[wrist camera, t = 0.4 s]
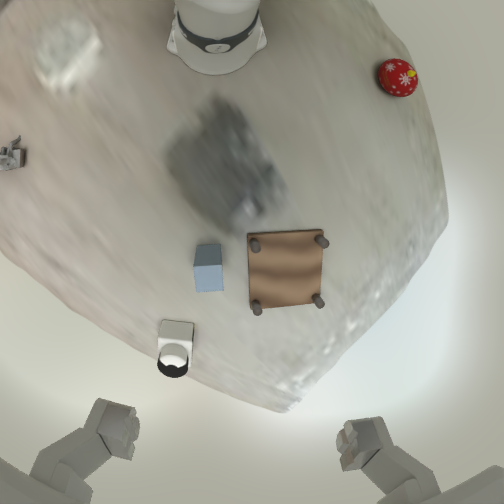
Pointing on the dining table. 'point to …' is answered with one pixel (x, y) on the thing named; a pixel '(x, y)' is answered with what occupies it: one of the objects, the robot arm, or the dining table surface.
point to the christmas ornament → (398, 77)
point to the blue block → (208, 268)
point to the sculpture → (11, 156)
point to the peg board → (285, 268)
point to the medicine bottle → (175, 348)
